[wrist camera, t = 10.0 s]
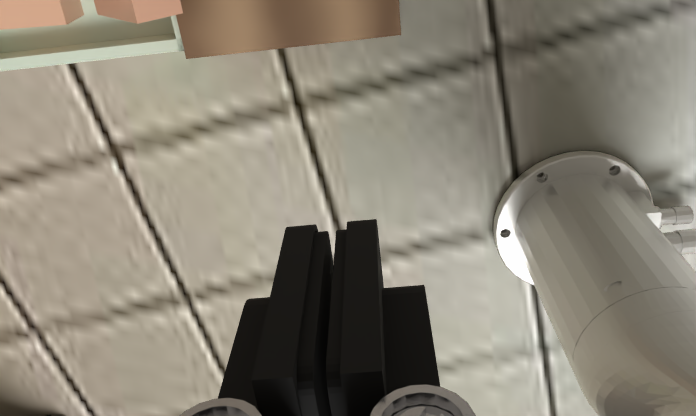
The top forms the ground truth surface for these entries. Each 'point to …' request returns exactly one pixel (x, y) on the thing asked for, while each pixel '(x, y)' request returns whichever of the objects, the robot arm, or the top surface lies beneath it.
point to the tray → (87, 40)
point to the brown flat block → (281, 24)
